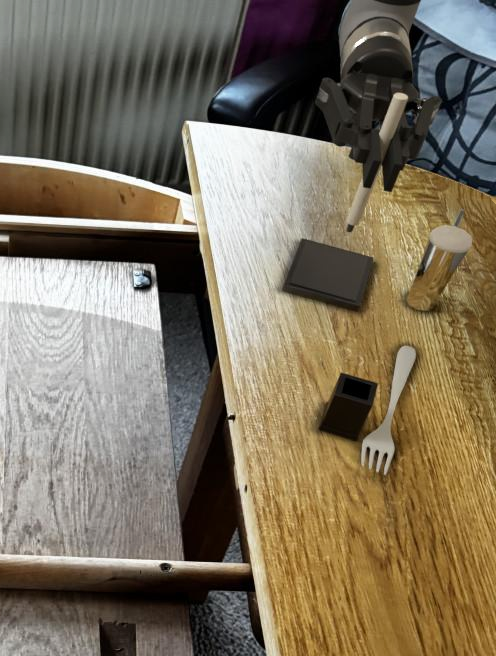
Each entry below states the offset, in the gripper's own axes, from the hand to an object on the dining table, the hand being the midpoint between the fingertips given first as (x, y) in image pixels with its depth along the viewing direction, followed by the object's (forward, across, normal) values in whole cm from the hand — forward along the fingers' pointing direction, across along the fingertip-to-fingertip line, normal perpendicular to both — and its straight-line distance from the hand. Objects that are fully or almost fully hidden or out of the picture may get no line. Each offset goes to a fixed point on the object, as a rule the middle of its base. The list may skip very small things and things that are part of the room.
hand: (382, 176), depth 91 cm
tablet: (-11, -1, -18) cm, 20 cm away
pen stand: (+16, -2, -17) cm, 24 cm away
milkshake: (-9, -12, -18) cm, 23 cm away
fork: (+12, -7, -18) cm, 23 cm away
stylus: (-6, 0, -9) cm, 10 cm away
